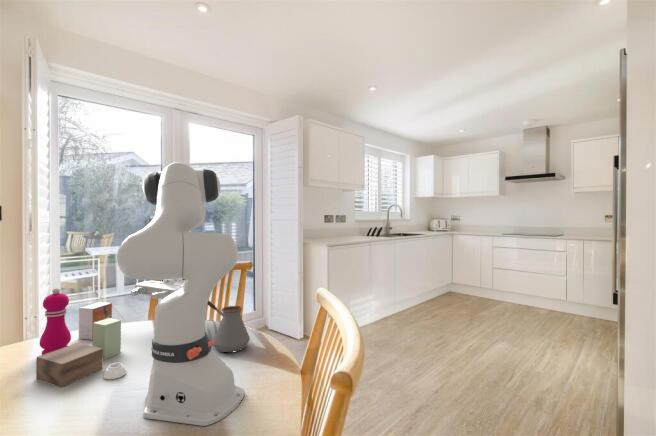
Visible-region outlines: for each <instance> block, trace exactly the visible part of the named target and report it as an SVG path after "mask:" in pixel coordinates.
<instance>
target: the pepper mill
mask: <svg viewBox="0 0 656 436" xmlns="http://www.w3.org/2000/svg"><path fill="white" fill-rule="evenodd" d="M42 301H43V302H42V307H43V308H44V309H45V310H44V313H45V314H44V316H45V317H46V324H45V329H44V330H43V332H42V334H41V336H40V339H39V347H40V348H42V351H41V355H44V354H47V353H50V352H52V351H55V350H58V349H61V348H64V347H67V346H68V345H69V343H70V342H71V340H72V334H71V331H70V330H69V328H68V326H67V324H66V314H67V313H68V312H67V310H68V308H67V306H68V305H69V303H70V302H69V301H70V298H69V296H68V295H67V294H65V293H61V289H60V288H57V287H55V288H54V289H52V293H50V294H49V295H47V296H46V297H45V298H44V299H43V300H42Z"/></svg>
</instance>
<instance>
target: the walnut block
mask: <svg viewBox="0 0 656 436" xmlns="http://www.w3.org/2000/svg"><path fill="white" fill-rule="evenodd" d="M103 360H104V359H103V348H98V347H94V346H93V345H91V344H90V345H89V344H84V343H82V342H81V343H80V342H76V343H74V344H73V343H72V344H70V345H67V347H64V348H61V349H58V350H55V351H52V352H50V353H47V354H44V355H42V354H41V355H38V356H36V367H35V369H36V370H35V371H36V372H35V373H36V374H35V379H36V380H37V381H41V382H44V383H47V384H51V385H53V386H56V387H60V388H64V387H67V386H69V385H71V384H73V383H75V382H77V380H78V381H79V380H82V379H84V378H86V377H89V376H91V375H93V374H95V373H99V372H100V371H102V370H103V364H104V363H103Z"/></svg>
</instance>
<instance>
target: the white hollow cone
mask: <svg viewBox="0 0 656 436" xmlns="http://www.w3.org/2000/svg"><path fill="white" fill-rule="evenodd" d="M104 371H105V372H104V373H103V378H104V379H105V380H115V379H116V380H117V379H119V378H122V377H123V376H124V375H126V374H127V370H126V368H125V366H124V365H123V363H122V362H113V363H110V364H108V366H107V368H106V370H104Z"/></svg>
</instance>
